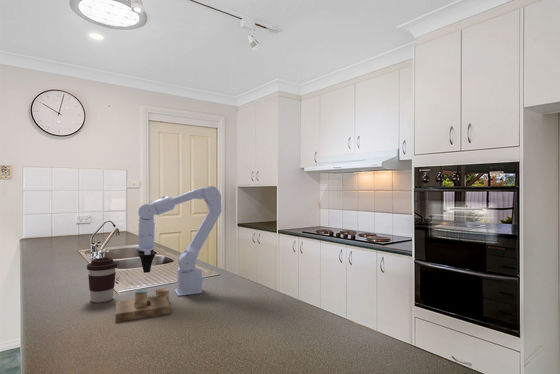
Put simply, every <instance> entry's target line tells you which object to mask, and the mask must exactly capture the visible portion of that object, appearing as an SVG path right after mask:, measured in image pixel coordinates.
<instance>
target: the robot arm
mask: <svg viewBox="0 0 560 374" xmlns="http://www.w3.org/2000/svg"><path fill="white" fill-rule="evenodd" d="M195 199H196V200H204V201H205V203H206V205H207V209H208V212H207V214H206V215H205V217H204V219H203V220H202V222H201V223H200V225H199V228H197V231H196V232H195V234H194V236H193V238H192V240H191V241H190V243H189V244H188V246H187V247H186V248H185V250H184V251H182V252H181V253H180V254H179V256H178V268H177V271H176V272H177V274H176V275H177V278H176V286H177V287H176V288H174V291H175V294H176V296H177V297H180V296H188V295H195V294H202V293H203V275H202V274H203V272H202V269H201V268H197V267H196V261H197V258H198V257H199V253H200V251H201V249H202V247H203V246H204V244H205V242H206V240H207V238H208V237H209V235H210V233H211V231H212V229H213V228H214V226H215V224H216V223H217V220H218V219H219V217H220V216H221V213H222V194H221V193H220V190H219V189H218V188H217V187H216V186H215V185H214V186H213V185H209V186H206V187H200V188H196V189H193V190H190V191H187V192H185V193H182V194H179V195H176V196H174V197H171V196H169V195H168V196H165V195H163V196H161V198H159V199H155V200H154V201H152V200H149V201H148V203H144V204H142V205H141V206H140V207H139V208H138V210H137V211H138V212H137V213H138V216H139V218H138V244H137V246H135V247H134V249H135V250H137V253H138V257H139V258H140V261H141V267H142V270H143V273H145V274H146V273H147V274H148V273H150V272H151V269H152V264H153V260H154V258H155V257H156V253H153V252H154V249H155V247H156V245H155V229H156V228H155V216H159V215H162V214H165V213H168V212H170V211H173V210H174V209H175V207H176V206H177V205H179V204H183V203H185V202H189V201H191V200H195Z"/></svg>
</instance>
